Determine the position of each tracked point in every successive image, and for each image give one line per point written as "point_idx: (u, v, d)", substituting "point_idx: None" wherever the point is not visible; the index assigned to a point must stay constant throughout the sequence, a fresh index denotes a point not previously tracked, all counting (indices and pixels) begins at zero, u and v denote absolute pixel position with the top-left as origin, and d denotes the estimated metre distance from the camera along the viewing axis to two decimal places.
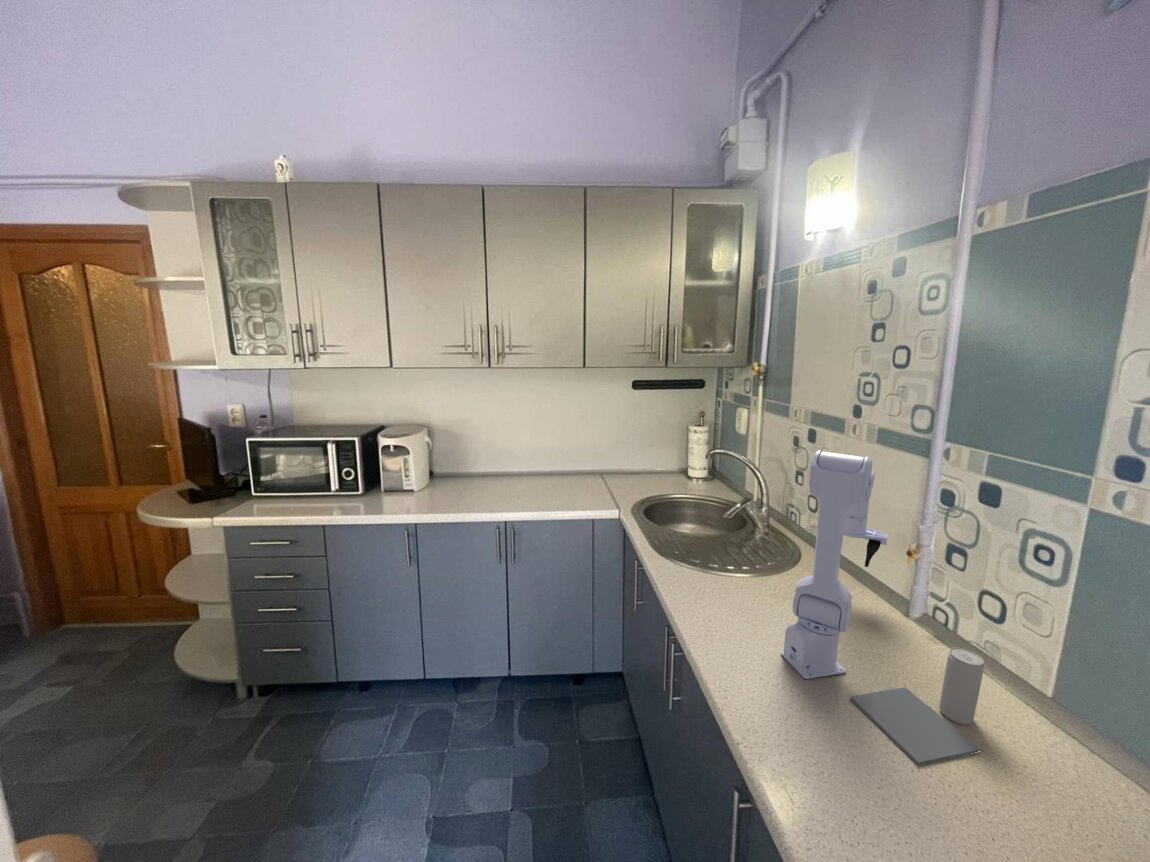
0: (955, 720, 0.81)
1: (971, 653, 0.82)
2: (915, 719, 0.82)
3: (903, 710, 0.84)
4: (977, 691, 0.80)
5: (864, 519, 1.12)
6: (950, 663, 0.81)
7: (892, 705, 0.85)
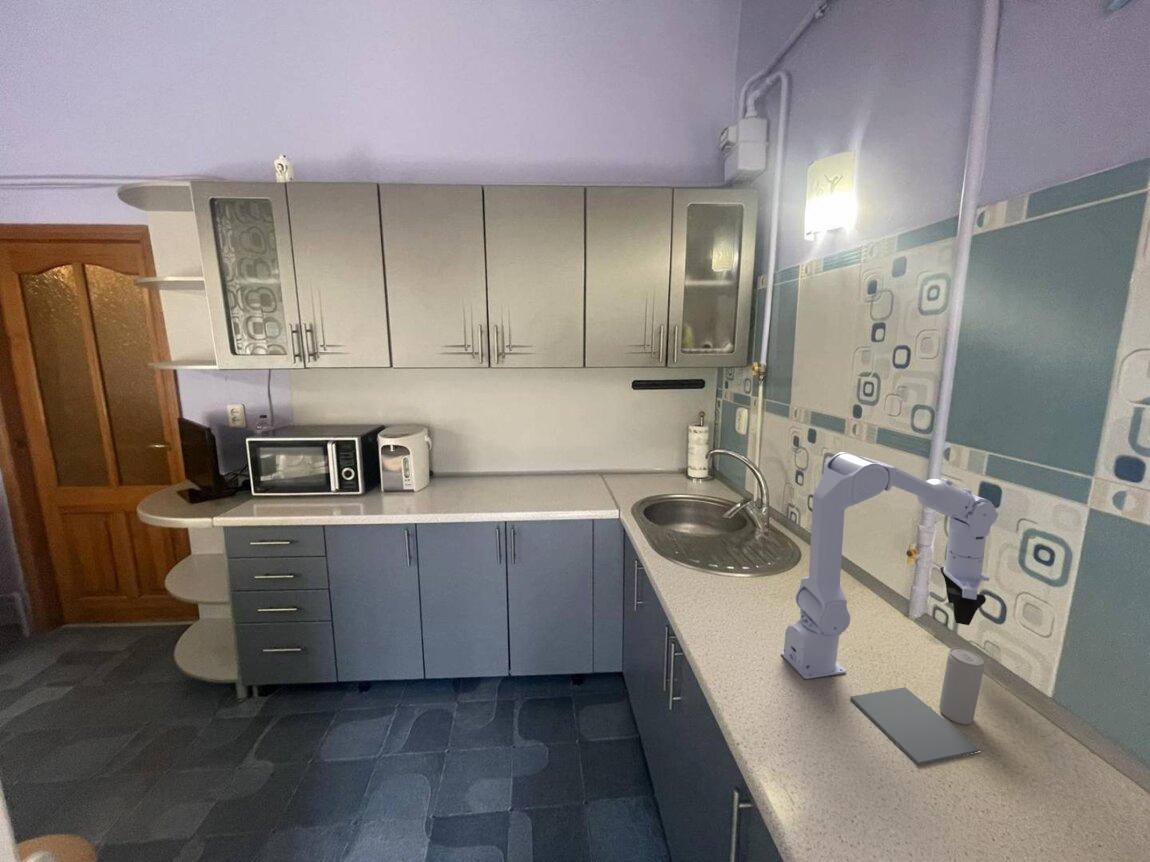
0: (955, 720, 0.81)
1: (971, 653, 0.82)
2: (915, 719, 0.82)
3: (903, 710, 0.84)
4: (977, 691, 0.80)
5: (958, 558, 0.92)
6: (950, 663, 0.81)
7: (892, 705, 0.85)
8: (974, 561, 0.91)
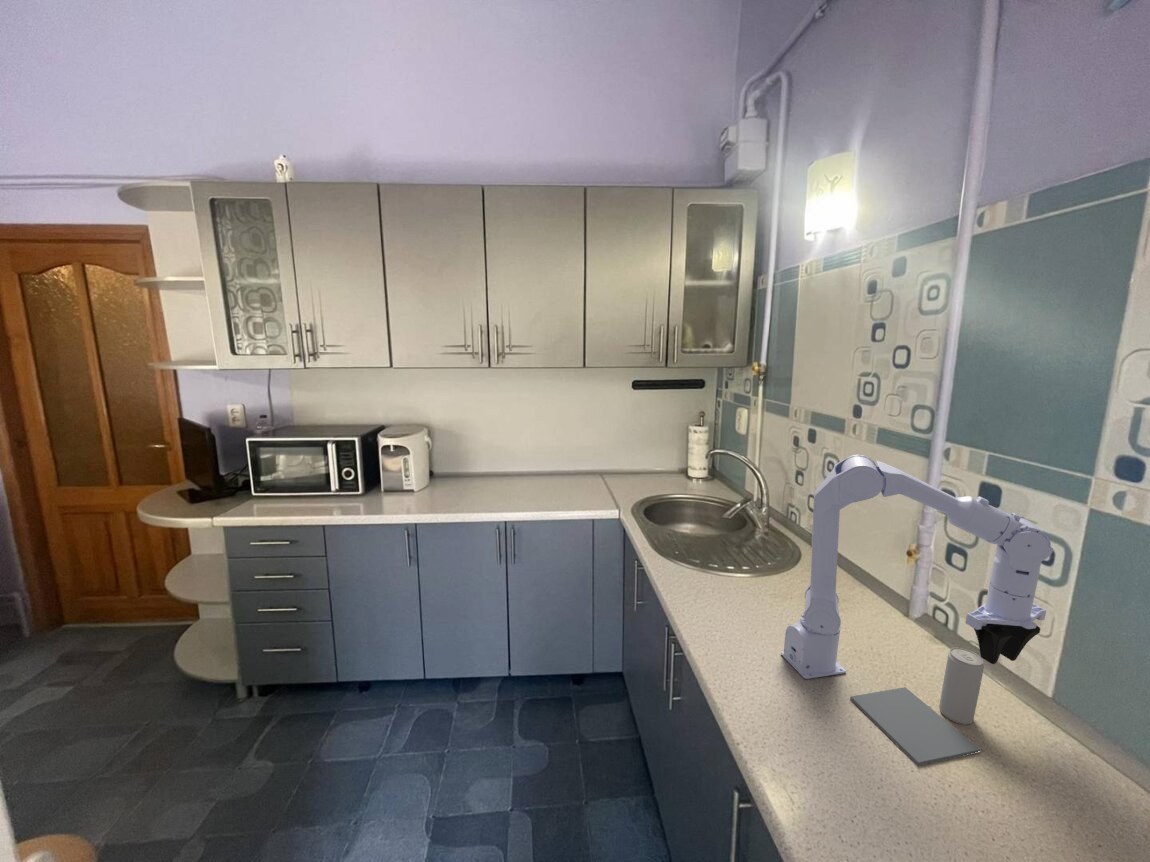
0: (955, 720, 0.81)
1: (971, 653, 0.82)
2: (915, 719, 0.82)
3: (903, 710, 0.84)
4: (977, 691, 0.80)
5: (990, 588, 0.81)
6: (950, 663, 0.81)
7: (892, 705, 0.85)
8: (1005, 596, 0.78)
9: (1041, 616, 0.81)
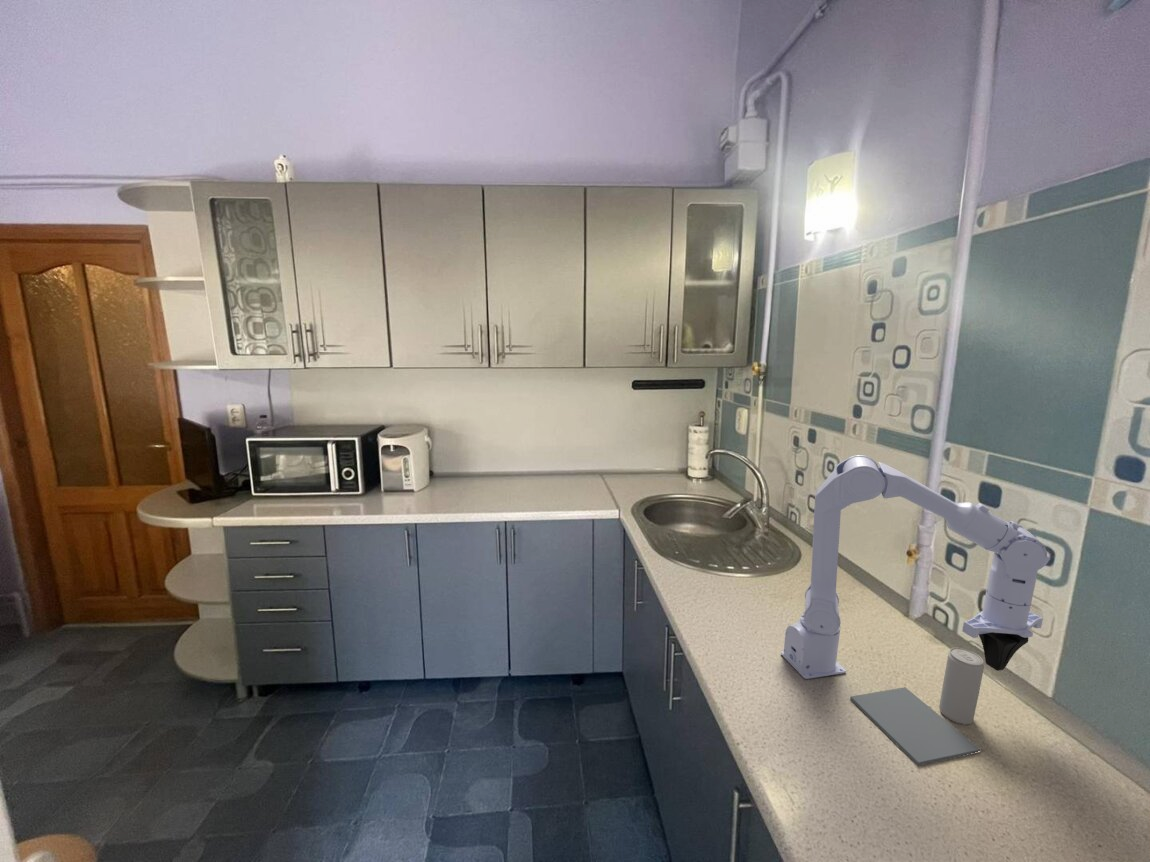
0: (955, 720, 0.81)
1: (971, 653, 0.82)
2: (915, 719, 0.82)
3: (903, 710, 0.84)
4: (977, 691, 0.80)
5: (987, 596, 0.81)
6: (950, 663, 0.81)
7: (892, 705, 0.85)
8: (1001, 604, 0.79)
9: (1038, 624, 0.81)
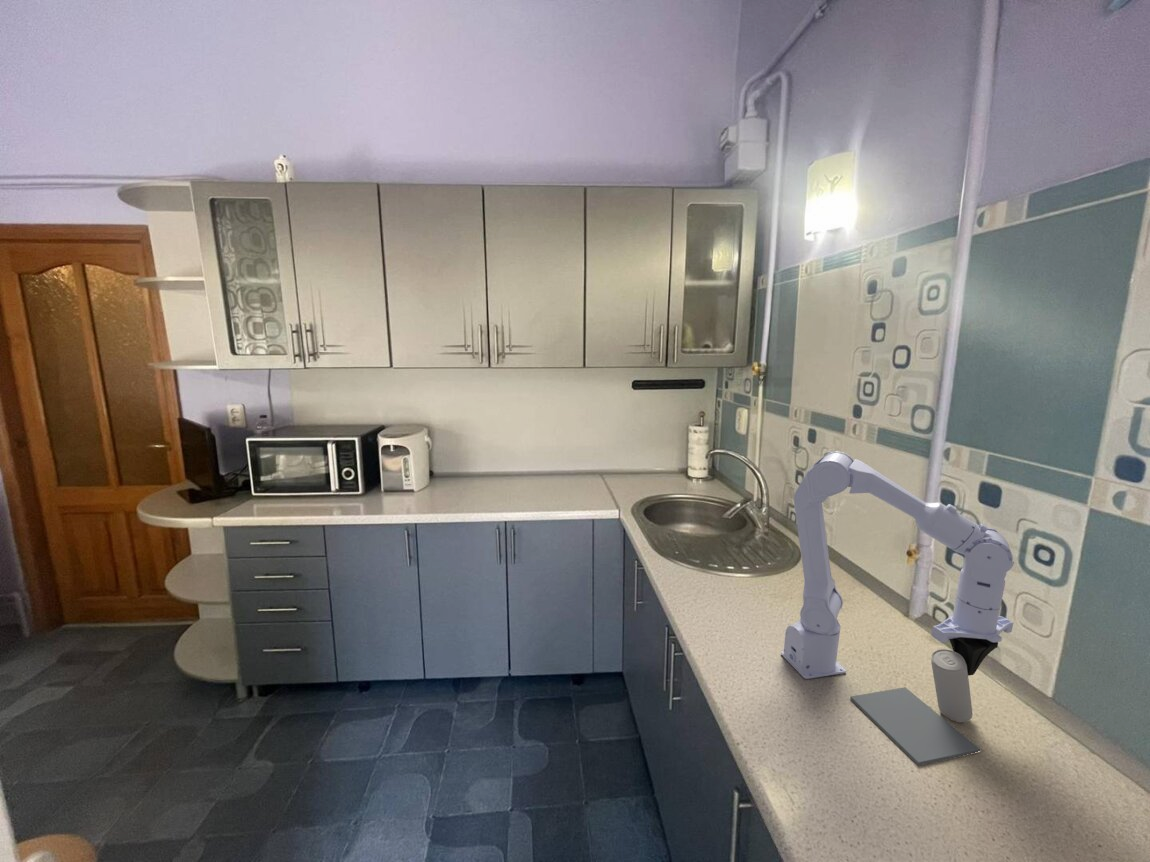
0: (954, 720, 0.81)
1: (953, 653, 0.81)
2: (915, 719, 0.82)
3: (903, 710, 0.84)
4: (966, 691, 0.79)
5: (957, 600, 0.80)
6: (934, 670, 0.81)
7: (892, 705, 0.85)
8: (970, 609, 0.77)
9: (1008, 628, 0.80)
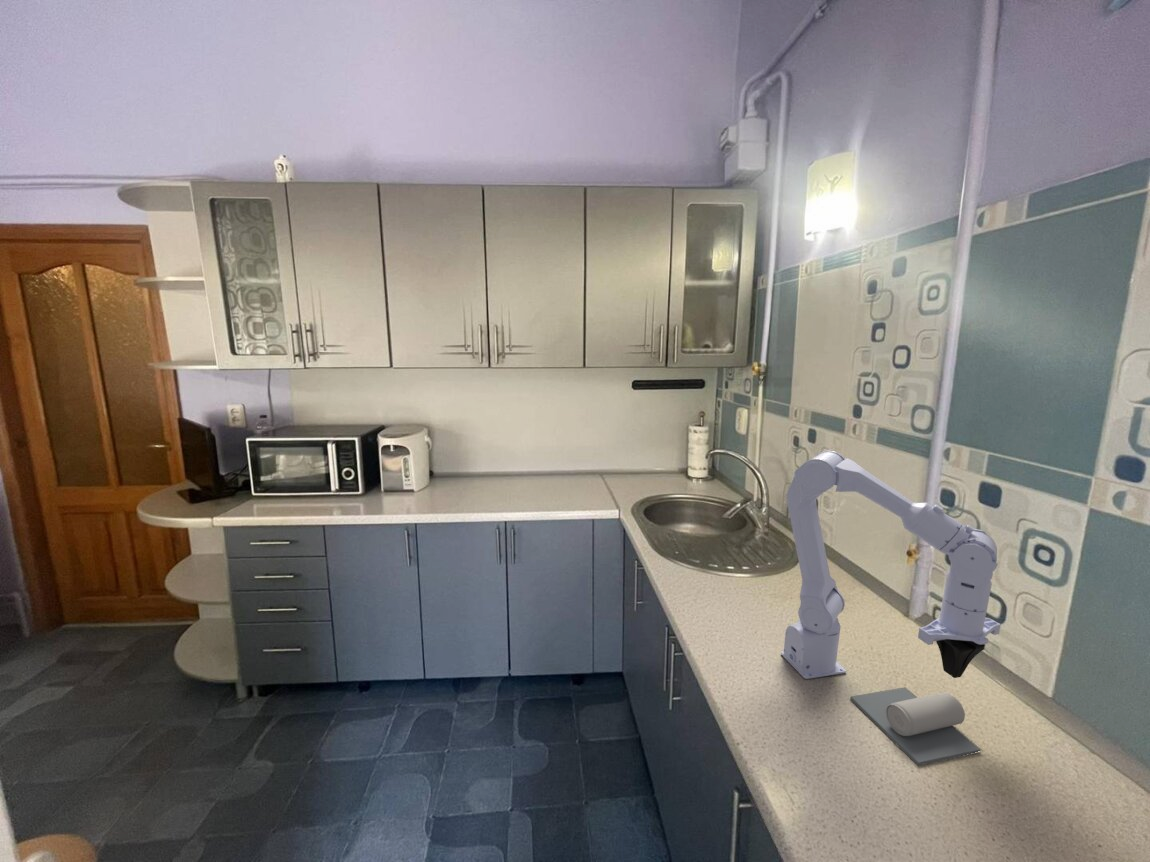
0: None
1: (900, 711, 0.78)
2: None
3: None
4: (934, 727, 0.78)
5: (944, 602, 0.79)
6: None
7: None
8: (957, 611, 0.77)
9: (995, 630, 0.80)
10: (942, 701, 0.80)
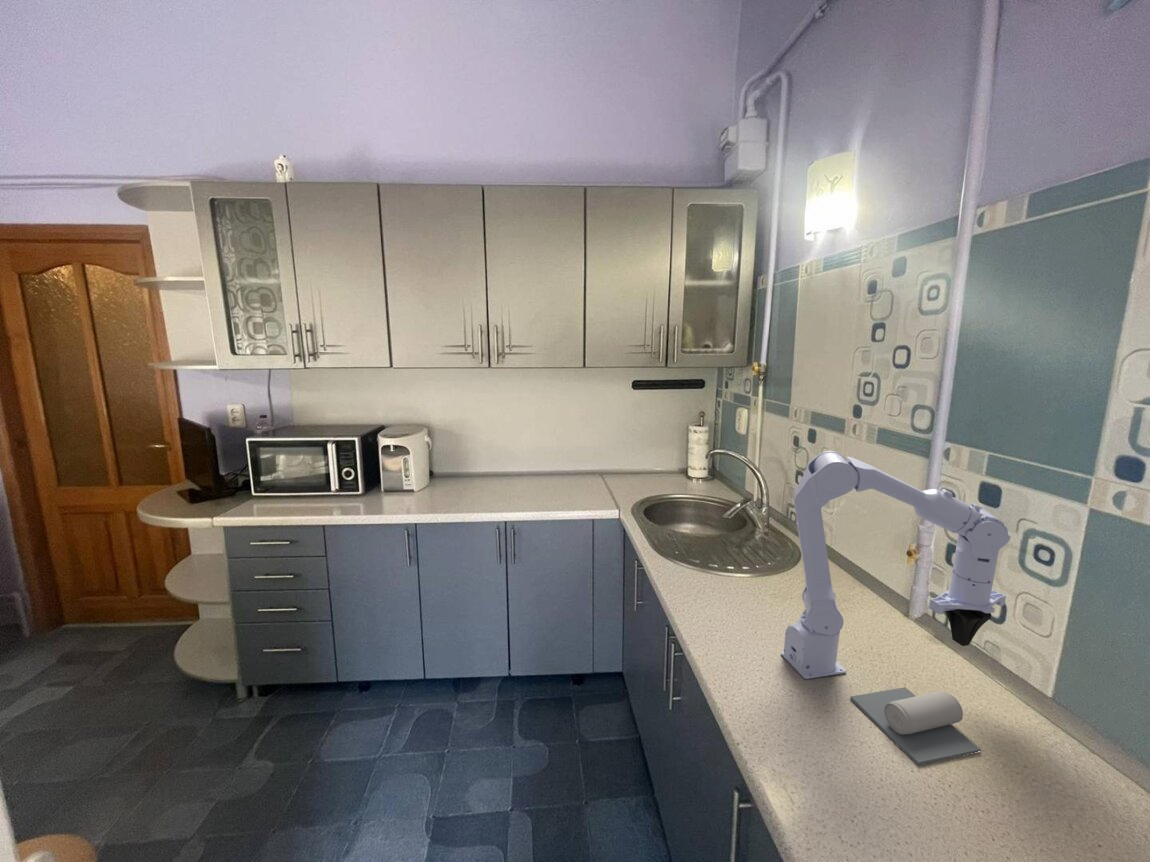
0: None
1: (897, 709, 0.78)
2: None
3: None
4: (933, 725, 0.78)
5: (953, 575, 0.85)
6: None
7: None
8: (965, 582, 0.83)
9: (1001, 602, 0.86)
10: (938, 698, 0.80)
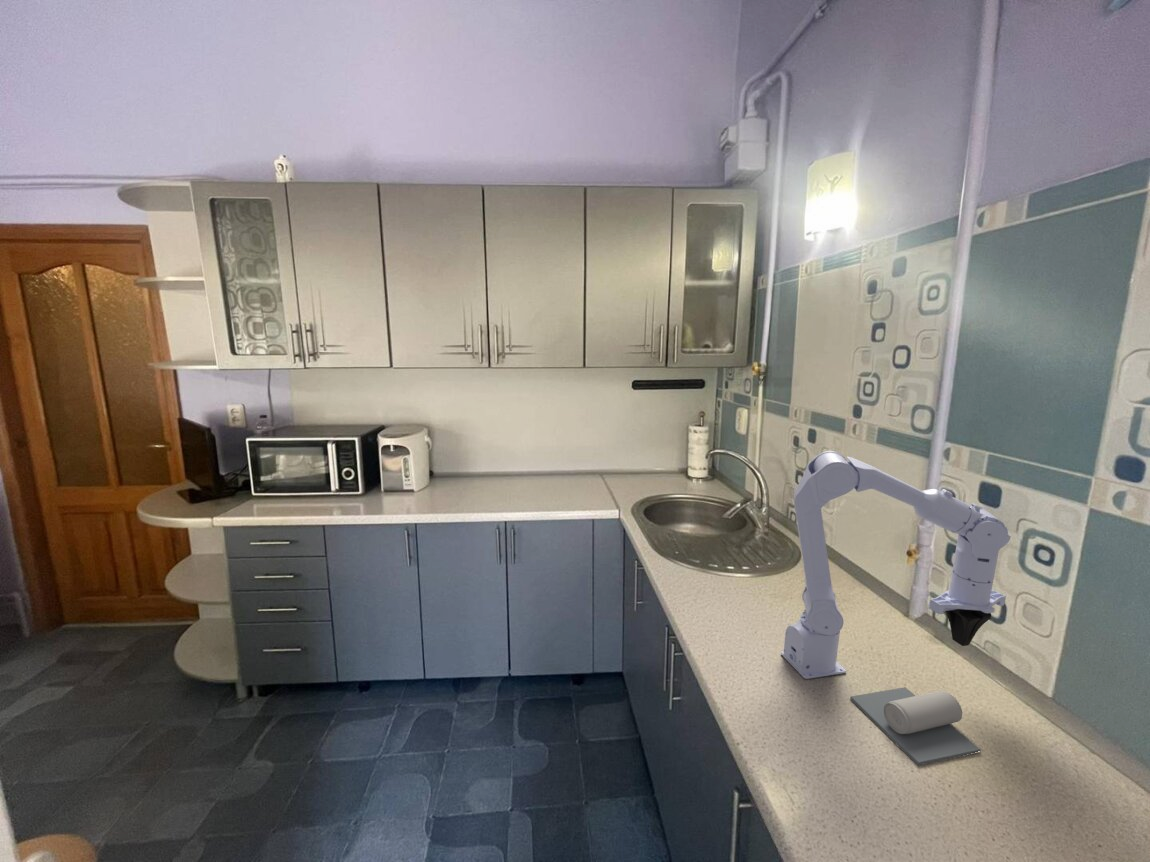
0: None
1: (896, 708, 0.79)
2: None
3: None
4: (932, 724, 0.78)
5: (953, 575, 0.85)
6: None
7: None
8: (965, 582, 0.83)
9: (1001, 602, 0.86)
10: (937, 697, 0.80)
